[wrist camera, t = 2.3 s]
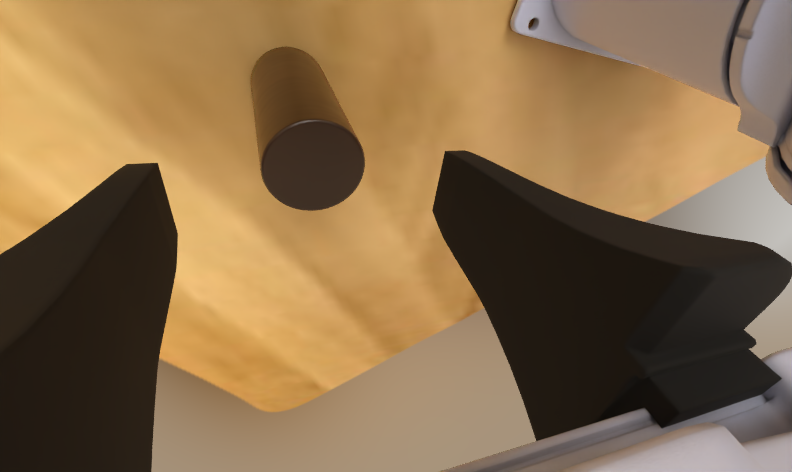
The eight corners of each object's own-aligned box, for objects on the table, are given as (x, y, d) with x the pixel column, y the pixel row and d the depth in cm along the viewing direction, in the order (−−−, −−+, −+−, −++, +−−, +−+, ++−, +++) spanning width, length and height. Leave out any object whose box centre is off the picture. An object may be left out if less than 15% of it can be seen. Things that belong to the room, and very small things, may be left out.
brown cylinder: (330, 54, 16) (375, 126, 11) (319, 123, 18) (354, 213, 13) (252, 39, 15) (264, 113, 10) (249, 114, 17) (257, 209, 12)
